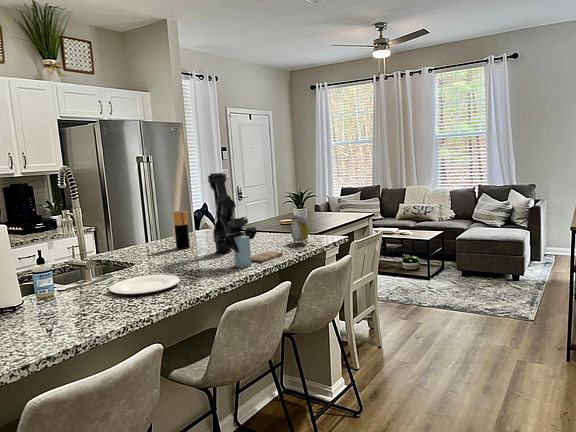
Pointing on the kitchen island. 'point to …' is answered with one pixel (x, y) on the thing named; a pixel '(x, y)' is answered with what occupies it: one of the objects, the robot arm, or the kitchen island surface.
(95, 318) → the kitchen island surface
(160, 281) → the plate
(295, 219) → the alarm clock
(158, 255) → the kitchen island surface
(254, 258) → the tan flat board
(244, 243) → the slate-blue post
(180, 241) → the battery
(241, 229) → the robot arm
